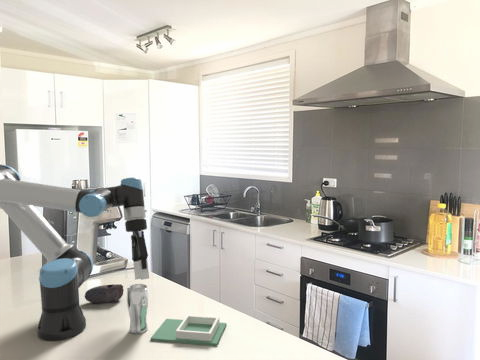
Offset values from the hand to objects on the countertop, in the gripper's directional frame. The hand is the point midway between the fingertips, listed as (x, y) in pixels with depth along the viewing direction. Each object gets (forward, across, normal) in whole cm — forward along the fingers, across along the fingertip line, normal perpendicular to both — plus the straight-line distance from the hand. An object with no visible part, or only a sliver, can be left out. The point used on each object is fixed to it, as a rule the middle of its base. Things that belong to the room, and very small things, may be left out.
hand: (141, 279), depth 140 cm
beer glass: (+17, -1, +3) cm, 17 cm away
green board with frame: (+20, -10, -12) cm, 25 cm away
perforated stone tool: (+7, +27, +12) cm, 30 cm away
